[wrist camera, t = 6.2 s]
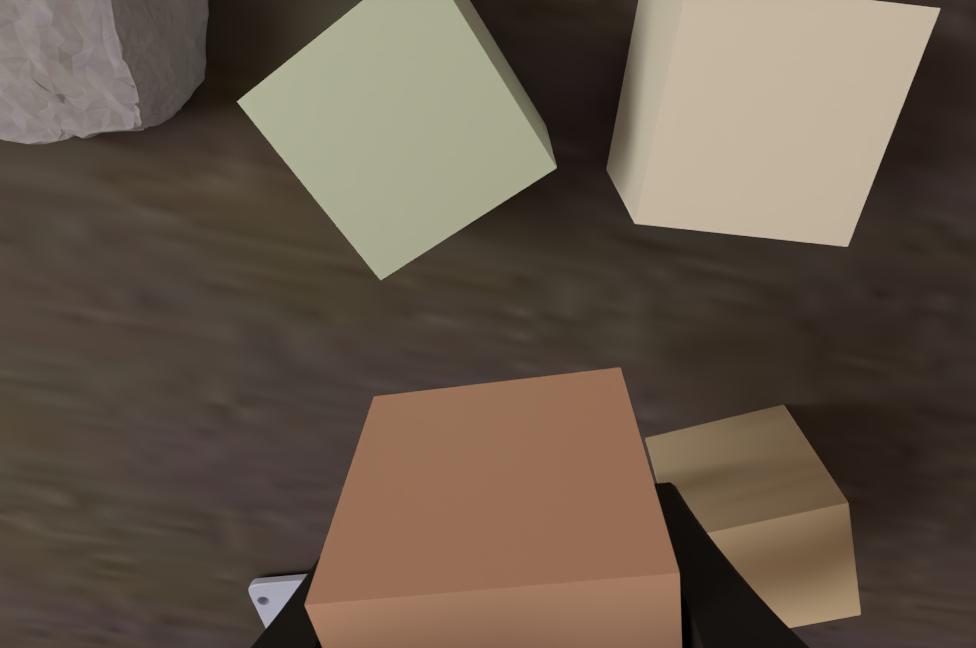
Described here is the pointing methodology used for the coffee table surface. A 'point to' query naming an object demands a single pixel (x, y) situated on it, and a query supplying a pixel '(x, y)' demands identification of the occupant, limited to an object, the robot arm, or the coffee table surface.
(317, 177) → the sage cube
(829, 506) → the maple cube
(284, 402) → the coffee table surface
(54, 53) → the stone block
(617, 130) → the cream cube
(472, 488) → the terracotta cube
